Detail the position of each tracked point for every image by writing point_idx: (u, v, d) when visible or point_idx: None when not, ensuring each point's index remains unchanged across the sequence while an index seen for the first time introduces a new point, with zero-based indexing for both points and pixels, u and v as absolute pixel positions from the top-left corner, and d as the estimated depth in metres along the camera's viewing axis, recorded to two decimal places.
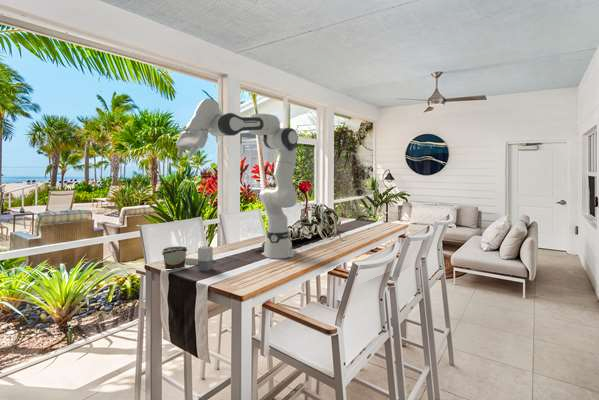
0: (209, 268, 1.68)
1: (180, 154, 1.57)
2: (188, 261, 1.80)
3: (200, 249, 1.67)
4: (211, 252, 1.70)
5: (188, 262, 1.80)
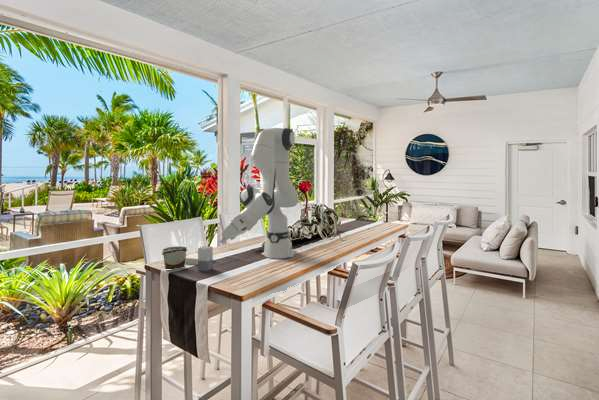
0: (209, 268, 1.68)
1: None
2: (188, 261, 1.80)
3: (200, 249, 1.67)
4: (211, 252, 1.70)
5: (188, 262, 1.80)
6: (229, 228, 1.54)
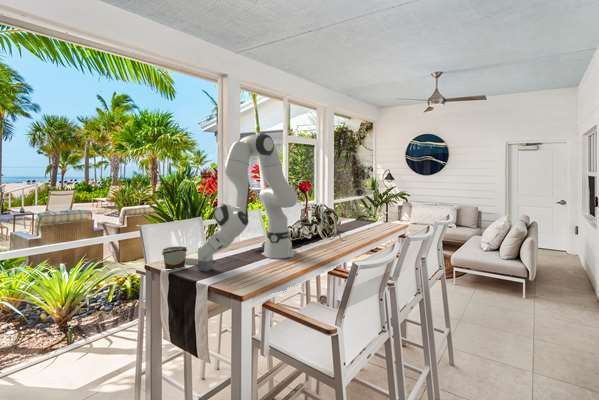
0: (209, 268, 1.68)
1: None
2: (188, 261, 1.80)
3: None
4: None
5: (188, 262, 1.80)
6: (205, 247, 1.58)
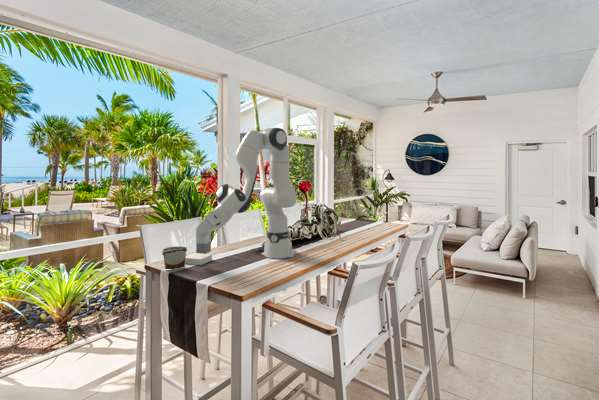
0: (207, 250, 1.72)
1: None
2: (188, 261, 1.80)
3: None
4: (209, 235, 1.73)
5: (188, 262, 1.80)
6: (204, 223, 1.61)
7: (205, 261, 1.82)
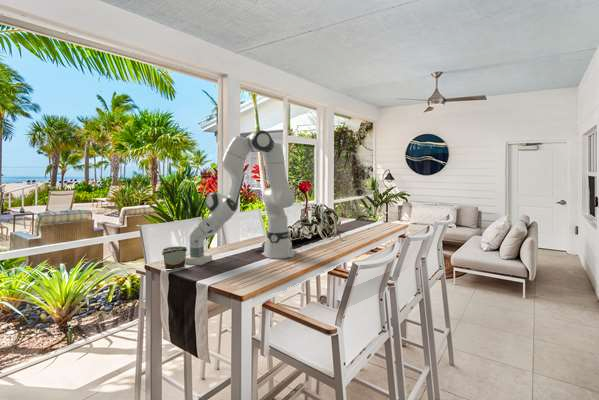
0: (200, 254, 1.83)
1: None
2: (188, 261, 1.80)
3: None
4: (202, 240, 1.84)
5: (188, 262, 1.80)
6: (197, 231, 1.72)
7: (205, 261, 1.82)
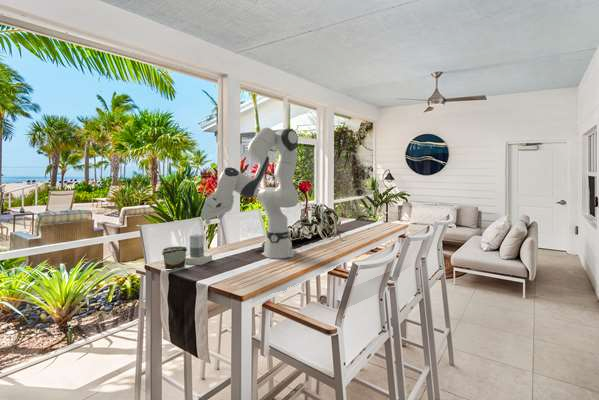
0: (200, 254, 1.83)
1: None
2: (188, 261, 1.80)
3: (192, 237, 1.81)
4: (202, 240, 1.84)
5: (188, 262, 1.80)
6: (205, 208, 1.66)
7: (205, 261, 1.82)
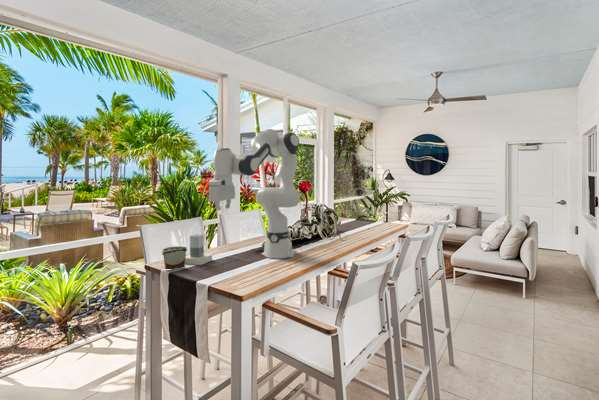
0: (200, 254, 1.83)
1: None
2: (188, 261, 1.80)
3: (192, 237, 1.81)
4: (202, 240, 1.84)
5: (188, 262, 1.80)
6: (211, 189, 1.62)
7: (205, 261, 1.82)
